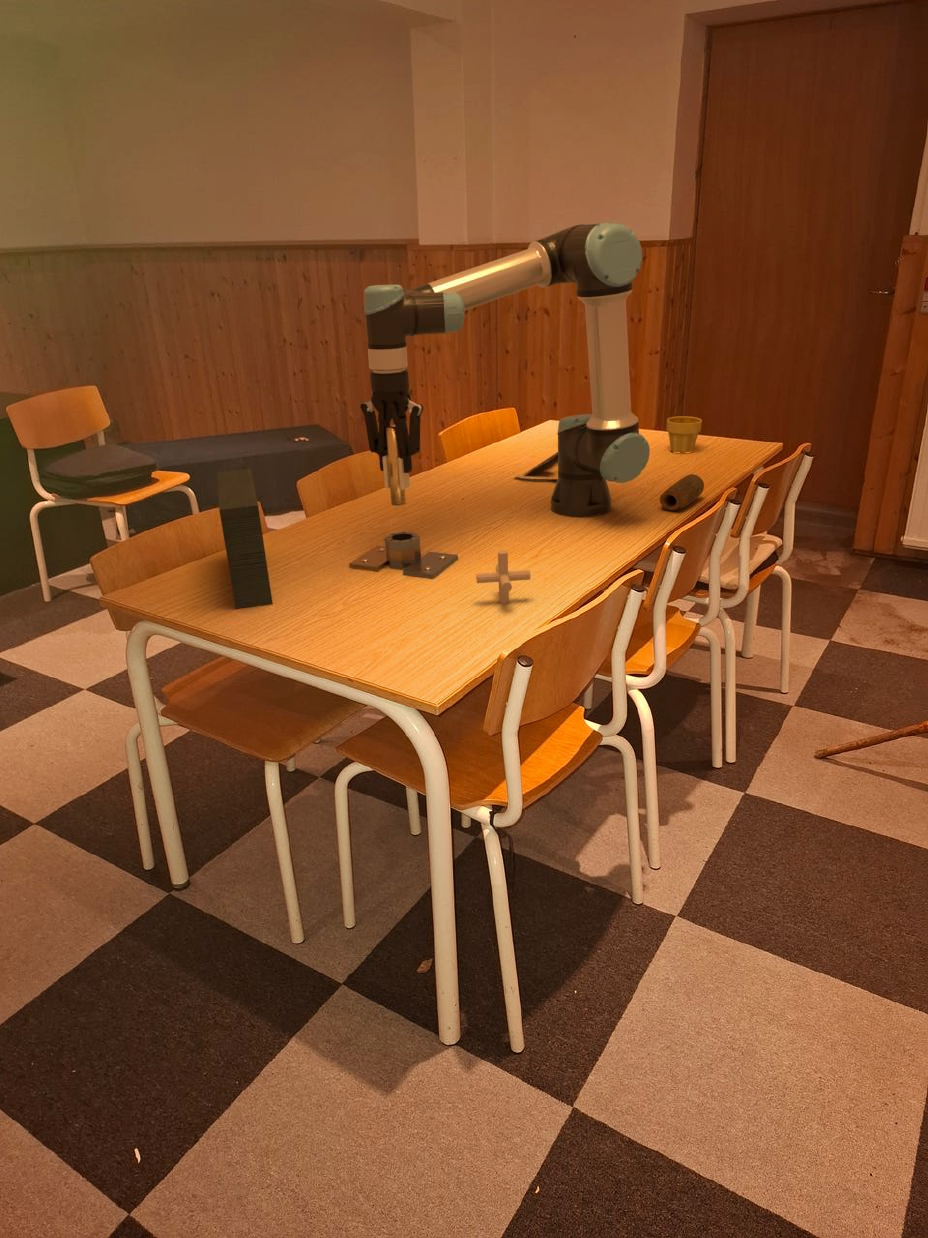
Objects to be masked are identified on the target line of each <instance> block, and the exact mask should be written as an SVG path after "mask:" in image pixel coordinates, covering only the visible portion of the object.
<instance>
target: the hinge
mask: <svg viewBox="0 0 928 1238" xmlns="http://www.w3.org/2000/svg"><path fill="white" fill-rule="evenodd" d="M384 542H385V543H384V544H385V545H378V544H377V545H376V546H374V547H373V548H371V549H369V550H368V551H366V552H365V553H363V554H362V555H360V556H358V557H357V558H355V559H354V560H352V561H351V562H349V563H348V566H349V568H350V569H356V570H363V571H372V572H380V571H381V570H382V569H384V568H385V567H387V566H388V567H389V568H390V569H394V570H402V576H410V577H417V578H424V579H429V580H430V579H431V580H434V579H435V578H436V577H438V576H439V575H440V574H441V573H443V572H444V571H446V570H447V569H448V568H449V567H450V566H452V565H453V564H454V563H455V562H457V561H458V560H459V555H458V554H454V553H453V554H452V553H445V552H438V551H437V552H435V551H427V552H426V553H424V554H423V555H421V554H422V553H421V552H422V551H421V539H420V535H418V533H417V532H414V531H413V532H412V531H405V530H404V531H398V532H391V533H389V534H388V535H386V536H385V537H384Z"/></svg>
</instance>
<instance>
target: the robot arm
mask: <svg viewBox="0 0 928 1238" xmlns="http://www.w3.org/2000/svg"><path fill="white" fill-rule="evenodd" d="M642 262H643V251H642V246H641V243H640V240H639V238H638V236H637V234H635V232H634V231H632V229H630V228H629V227H628V226H626V225H623V224H621V223H620V224H619V223H613V222H601V223H592V224H591V223H590V224H583V223H582V224H576V225H572V226H569V227H567V228H565V229H562V230H559V231H558V232H557V231H556V232H555V233H553V234H551V235H548V236H545V237H543V238H541V239H538V240H534V241H531V242H530V244H529V245H528V246H527V249H524V250H522V251H518V252H516V253H513V254H510V255H507V256H504V257H501V258H498V259H495V260H491V261H489V262H487V263H483V264H480V265H478V266H475V267H472V268H469V269H466V270H463V271H460V272H457V273H454V274H452V275H451V274H450V275H448V276H445V277H442V278H440V279H437V280H434V281H431V282H427V283H425V284H422V285H420V286H416V287H414V288H411V289H406V288H403V286H402V285H400V284H378V285H369V286H367V287H366V288H365V289H364V293H363V307H364V308H363V314H364V319H365V320H364V321H365V331H366V340H367V355H368V368H369V369H370V370H371V372H370V373H369V379H370V389H371V392H372V394H371V397H370V400H369V401H366V402H364V403H361V404H360V406H359V408H360V409H361V412H362V414H363V416H364V421H365V422H364V423H365V427H366V428H365V430H366V435H367V440H368V447H369V451H370V452H371V453H374V454H377V455H378V458H379V469H380V471H381V472H383V482H384V488H385V489H390V480H389V467H388V454H387V441H386V428H385V427H386V426H389V425H391V421H393V422H392V423H393V425H395V426H396V431H397V436H398V441H399V446H400V451H401V456H400V457H399V458H398V465H399V479H400V490H404V489H405V490H406V489H407V488H408V489H409V488H410V487H411V485H410V473H412V470H413V466H412V465H413V462H412V456H414V455H416V454H418V453H420V452H421V451H420V450H421V416H422V413H423V411H424V405H423V404H421V403H420V404H417V403H416V402H413V401H412V398H411V397H412V396H411V395H410V392H409V391H410V380H409V371H408V370H407V367H408V364H409V363H408V352H407V350H408V349H407V337H413V336H414V337H415V336H424V335H439V334H440V335H441V334H444V335H447V334H448V333H455V332H459V331H461V330H462V328H463V325H464V322H465V316H466V314H465V312H466V311H468V310H470V309H473V308H476V307H478V306H482V305H485V304H488V303H490V302H493V301H496V300H498V299H502V298H504V297H507V296H509V295H513V294H515V293H519V292H521V291H525V290H527V289H530V288H532V287H536V286H538V287H539V288H541V289H544V288H547V287H551V286H553V285H559V284H575V286H576V287H575V289H576V298H577V300H579V301H580V302H582V304H583V305H584V309H585V310H584V313H585V325H586V326H585V327H586V328H585V329H586V338H587V339H586V340H587V342H586V343H587V354H588V355H587V356H588V357H587V358H588V367H589V368H588V371H589V382H590V384H589V387H590V397H591V399H590V400H591V410H592V411H591V412H592V413H586V414H585V413H583V414H576V415H574V414H573V415H568V416H565V417H562V418H561V419H560V420H559V421H558V426H557V433H556V434H557V452H558V454H557V480H556V483H555V486H554V489H553V492H552V495H551V498H550V510H551V511H552V512H554V513H556V514H559V515H562V516H567V517H579V518H580V517H595V516H599V515H603V514H606V513H609V512H610V511H611V510H612V504H613V503H612V501H613V500H612V495H611V493H610V488H609V485H608V483H607V481H608V482H615V483H617V484H625V483H628V482H631V481H633V480H635V479H636V478H638V477H639V476H640V475H641V473H642V471H643V470H644V469H645V468H646V467H647V464H648V462H649V460H650V453H651V449H650V448H651V447H650V444H649V442H648V440H647V439H646V438H645V437H644V435H642V434H640V426H639V418H638V417H637V416H636V415H635V414H634V413H633V412H632V403H631V399H632V398H631V383H630V382H631V381H630V379H631V378H630V364H629V362H630V359H629V358H630V357H629V339H628V319H627V299H628V297H629V296H630V295H631V294H632V293H633V291H634V290H633V289H634V287H633V280H634V279H636V277H637V276H638V275H637V274H638V272H639V271H640V270H641V267H642ZM408 409H409V410H408ZM375 410H376V411H377V413H378V414H377V415H376V411H375ZM407 411H408V414H409V421H408V423H409V425H408V424H407V420H408V418H407ZM408 428H409V429H408Z"/></svg>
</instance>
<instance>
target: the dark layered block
mask: <svg viewBox="0 0 928 1238" xmlns="http://www.w3.org/2000/svg"><path fill="white" fill-rule="evenodd" d="M255 488H256V487H255V483H254V476H253V474H252V468H246V469H245V468H243V469H236V470H235V469H234V470H224V471H217V492H218V494H217V495H218V511H219V516H220V521H221V522H220V523H221V527H222V534H223V540H224V545H225V552H226V558H227V563H228V570H229V577H230V581H231V589H232V593H233V599H234V600H233V601H234V607H235V610H241V609H243V608H244V609H251V608H257V607H258V608H259V607H264V606H271V605H273V604H274V603H273V597H272V590H271V583H270V577H269V570H268V562H267V556H266V549H265V542H264V537H263V528H262V522H261V517H260V516H261V515H260V510H259V509H260V508H259V503H258V497H257V493H256V489H255Z"/></svg>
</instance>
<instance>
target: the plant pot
mask: <svg viewBox="0 0 928 1238" xmlns="http://www.w3.org/2000/svg"><path fill="white" fill-rule="evenodd" d="M702 423H703V420H702V419H701V418H699V417H695V416H687V415H685V416H681V415H680V416H679V415H677V416H672V417H668V418H667V419H666V432H668V439H669V447H670V452H671V451H674V452H680V453H685V452H691V451H693V452H694V448H695V446H696V442H697V439H698V436H699V433H700V432H701V430H702V425H703V424H702ZM691 453H692V452H691Z"/></svg>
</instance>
